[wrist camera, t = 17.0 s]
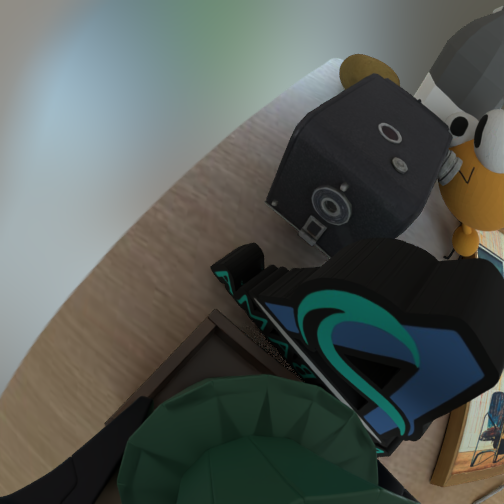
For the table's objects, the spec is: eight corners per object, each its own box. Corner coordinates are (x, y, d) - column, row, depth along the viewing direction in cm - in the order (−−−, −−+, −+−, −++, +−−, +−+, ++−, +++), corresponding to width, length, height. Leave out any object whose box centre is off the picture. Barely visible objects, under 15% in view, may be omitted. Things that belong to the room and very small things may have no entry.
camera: (343, 305, 22) (413, 192, 27) (435, 261, 11) (478, 125, 16) (241, 220, 24) (335, 129, 28) (257, 118, 13) (374, 45, 18)
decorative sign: (393, 432, 17) (566, 437, 4) (373, 456, 16) (544, 487, 3) (237, 250, 22) (291, 62, 8) (210, 269, 21) (230, 77, 7)
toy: (380, 224, 26) (440, 83, 18) (437, 242, 29) (489, 129, 21) (437, 287, 18) (522, 108, 11) (486, 294, 21) (554, 162, 14)
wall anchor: (509, 477, 15) (509, 484, 14) (470, 501, 14) (470, 508, 13) (514, 475, 14) (515, 482, 13) (476, 500, 13) (476, 507, 13)
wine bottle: (400, 181, 28) (551, -35, 1) (375, 128, 31) (483, -68, 4) (446, 187, 29) (583, 18, 2) (421, 139, 32) (527, -23, 5)
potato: (412, 98, 25) (367, 42, 23) (362, 128, 31) (319, 77, 29) (410, 87, 30) (372, 40, 27) (368, 113, 35) (331, 69, 33)
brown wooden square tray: (230, 502, 14) (236, 524, 11) (120, 416, 15) (103, 424, 12) (318, 405, 18) (341, 409, 14) (213, 319, 19) (215, 307, 16)
